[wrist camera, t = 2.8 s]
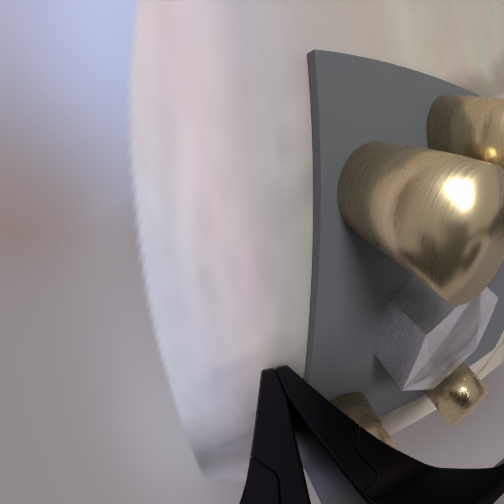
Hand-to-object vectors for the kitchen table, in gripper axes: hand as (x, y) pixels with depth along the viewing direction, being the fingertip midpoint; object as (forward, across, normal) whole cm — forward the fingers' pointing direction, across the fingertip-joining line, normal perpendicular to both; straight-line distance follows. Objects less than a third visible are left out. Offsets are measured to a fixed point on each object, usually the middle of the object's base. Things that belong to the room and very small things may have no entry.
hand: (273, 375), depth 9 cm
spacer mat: (+2, -11, 0) cm, 11 cm away
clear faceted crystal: (+1, -7, 0) cm, 7 cm away
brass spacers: (+1, -10, -1) cm, 11 cm away
